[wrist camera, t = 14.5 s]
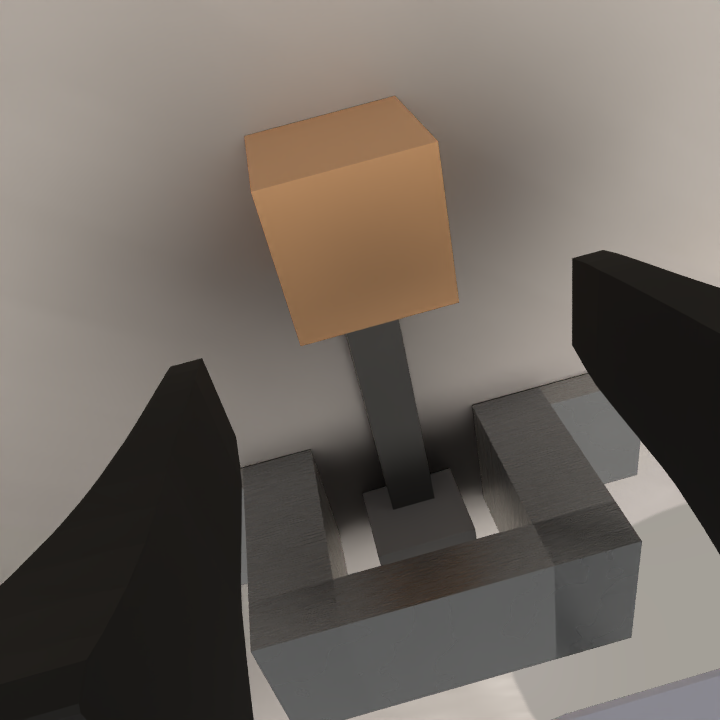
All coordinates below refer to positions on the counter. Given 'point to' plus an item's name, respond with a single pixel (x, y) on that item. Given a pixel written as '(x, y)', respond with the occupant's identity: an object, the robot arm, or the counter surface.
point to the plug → (368, 285)
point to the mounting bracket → (448, 566)
